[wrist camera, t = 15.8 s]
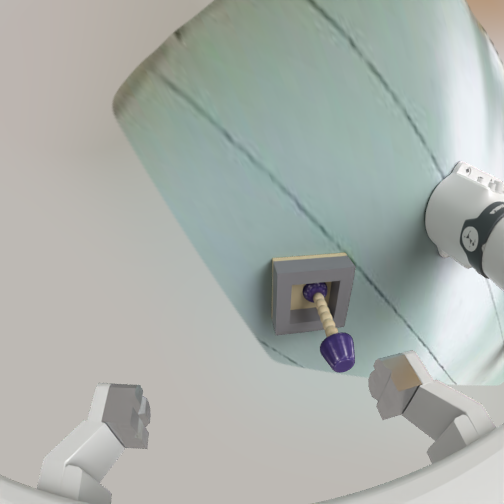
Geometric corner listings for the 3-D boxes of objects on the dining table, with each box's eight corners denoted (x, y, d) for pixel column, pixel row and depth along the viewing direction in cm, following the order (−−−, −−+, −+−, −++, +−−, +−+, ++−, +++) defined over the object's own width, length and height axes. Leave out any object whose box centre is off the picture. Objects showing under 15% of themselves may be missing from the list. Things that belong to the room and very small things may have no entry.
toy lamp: (312, 305, 51) (343, 380, 37) (293, 294, 50) (320, 371, 35) (331, 286, 50) (369, 359, 35) (312, 273, 48) (348, 347, 33)
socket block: (345, 252, 48) (355, 266, 44) (336, 310, 54) (344, 326, 50) (272, 258, 47) (277, 273, 43) (271, 317, 53) (275, 335, 49)
